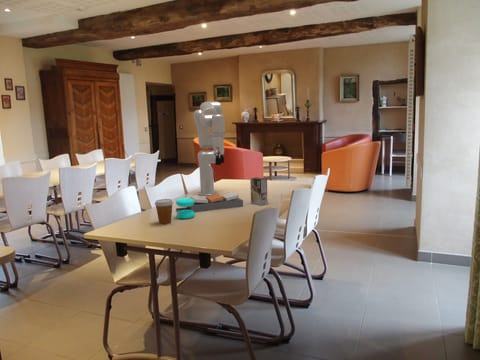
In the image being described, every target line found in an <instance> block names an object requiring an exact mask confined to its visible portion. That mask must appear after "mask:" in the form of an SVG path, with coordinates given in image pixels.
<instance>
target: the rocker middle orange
mask: <svg viewBox="0 0 480 360" xmlns="http://www.w3.org/2000/svg"><path fill="white" fill-rule="evenodd" d="M221 195H222V194H219V193H217V192H216V194H214V195H210V196H205V199H207V200H208V201H209V202H211V203H212V202H215V201H219V200H222V199H223V196H221Z"/></svg>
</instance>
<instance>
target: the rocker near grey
mask: <svg viewBox="0 0 480 360" xmlns="http://www.w3.org/2000/svg"><path fill="white" fill-rule="evenodd" d="M190 198H191V199H193V200H194V202H198V203H208V200H207V199H206V197H205V196H194V195H190Z"/></svg>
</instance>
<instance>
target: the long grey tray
mask: <svg viewBox="0 0 480 360" xmlns="http://www.w3.org/2000/svg"><path fill="white" fill-rule="evenodd" d="M238 207H239V208H240V207H244V200H243V199H242V198H240V197H239V198H235V199H232V200H228V201H226V200H224V199H222V200H219V201H215V202H212V203H211V202H209V201H208V203H198V202H194V204H193V205H191V206H188V207H176V209H175V211H176V212H179V211H181V210H192V211H194V213H199V212H207V211H215V210H223V209H233V208H238Z"/></svg>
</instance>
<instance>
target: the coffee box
mask: <svg viewBox="0 0 480 360" xmlns="http://www.w3.org/2000/svg"><path fill="white" fill-rule="evenodd" d="M250 202H251V205H252V204H253V205H260V206H263V205H266V204H267V205H268V178H266V177H258V176H257V177H256V176H255V177H251V178H250Z"/></svg>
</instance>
